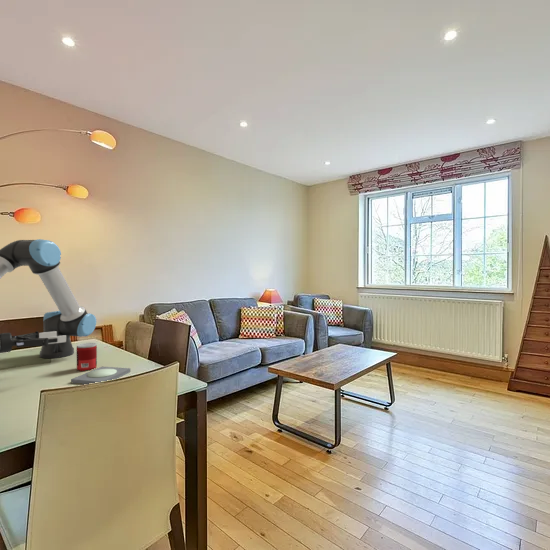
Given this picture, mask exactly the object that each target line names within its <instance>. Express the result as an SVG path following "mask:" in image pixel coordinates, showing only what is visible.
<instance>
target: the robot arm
mask: <svg viewBox="0 0 550 550" xmlns="http://www.w3.org/2000/svg"><path fill="white" fill-rule="evenodd" d="M61 256H62V252H61V249H60V247H59V246H58V245H57V244H56V243H55V242H54V241H51V240H50V239H41V238H40V239H18V240H14V241H12V242H10V243H8V244H6V245H4V246H3V247H1V248H0V279H2V278H3V277H4V276H5V275H6V274H8V273H12V272H14V270H15V269H17V268H20V267H25V266H26V267H28V268H29V269H30V271H31V273H32V274H34V275H38V277H39V279H40V280H41V282H42V283H43V285H44V286H45V289H46V290H47V292H48V294H49V295H50V297H51V299H52V300H53V302H54V304H55V306H56V307H57V309H58V310H56V311H48V312H45V313H44V314H43V320H42V322H43V325H42V326H43V329H42V330H43V332H39V331H38V330H37V331H35V332H30V333H26V334H19V335H12V333H11V332H2V333H0V354H6V353H10V352H11V351H12V350H13V347H16V348H25V347H26V348H27V347H40V346H41V349H40V351H39V358H41V359H57V358H63V357H68V356H71V355H73V354H75V349H74V347H73V343H72V340H71V337H80V338H81V337H88V336H91V335H92V334H93V333H94V331H95V329H96V326H97V318H96V316H95V315H94V314H92V313H91V312H90V313H88V311H87V310H86V307H84V306H82V305H80V303H79V302H78V300H77V298H76V296H75V295H74V293H73V291H72V289H71V287H70V286H69V283H68V282H67V280H66V278H65V276H64V274H63V273H62V271H61V269H60V265H61V262H60V261H61V258H62V257H61Z"/></svg>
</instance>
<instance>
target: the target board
mask: <svg viewBox="0 0 550 550" xmlns="http://www.w3.org/2000/svg"><path fill="white" fill-rule="evenodd" d="M130 372H131V368H129V367H118V366H117V367H116V366H115V367H114V366H102V365H101V366H100V367H98V368H97V367H96V368H95V369H93V370H89V371H87V372H85V373H83V374H80V375H78V376H75V377H74V378H71V379H70V383H71V382H73V383H72V384H76V383H82V384H81V385H89V383H95V382H101V381H107V380H112V379H115V380H117V379H119V378H120V376H121V377H123V376H125V375H127V374H129V373H130Z"/></svg>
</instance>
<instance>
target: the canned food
mask: <svg viewBox="0 0 550 550" xmlns="http://www.w3.org/2000/svg"><path fill="white" fill-rule="evenodd" d="M97 346H98V345H97V343H96V342H85V343H79V344H77V345H76V369H77V371H78V370H80V371H79V372H86V371H85V370H89V371H92V370H91V369H93V370H95V369H97V366H98V361H97V360H98V358H97V357H98V349H97V348H98V347H97ZM94 368H95V369H94Z"/></svg>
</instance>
